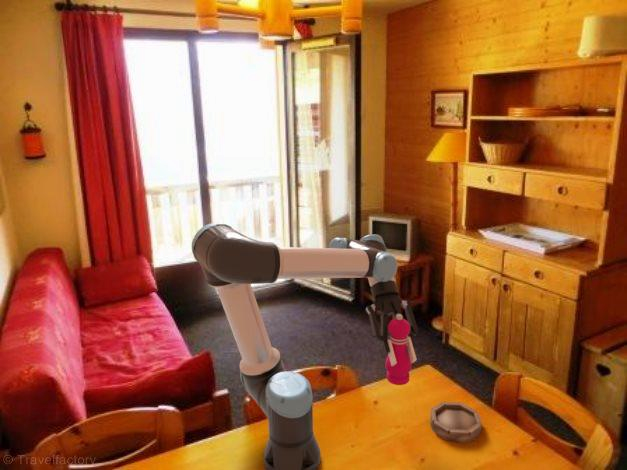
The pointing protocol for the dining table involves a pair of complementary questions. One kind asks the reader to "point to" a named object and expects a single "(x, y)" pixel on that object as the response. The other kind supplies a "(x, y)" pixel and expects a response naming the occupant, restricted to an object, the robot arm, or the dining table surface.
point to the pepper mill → (399, 351)
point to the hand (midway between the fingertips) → (404, 362)
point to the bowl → (455, 422)
